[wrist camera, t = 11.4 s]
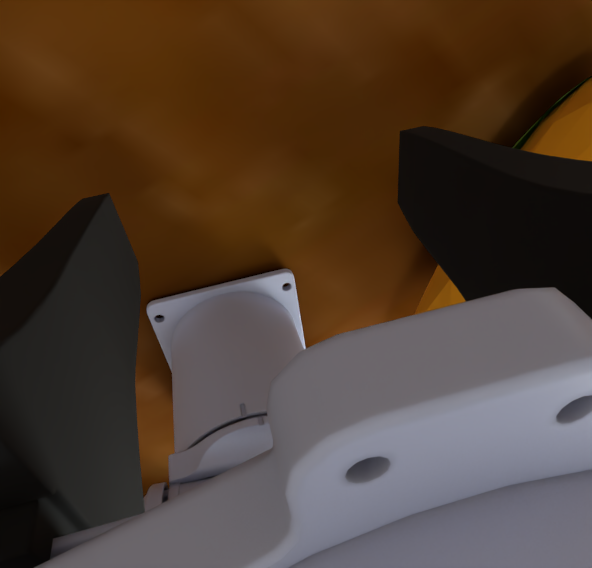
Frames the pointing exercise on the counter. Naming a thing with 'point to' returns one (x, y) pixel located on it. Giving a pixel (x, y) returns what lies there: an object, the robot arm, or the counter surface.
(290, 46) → the counter surface
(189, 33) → the counter surface
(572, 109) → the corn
